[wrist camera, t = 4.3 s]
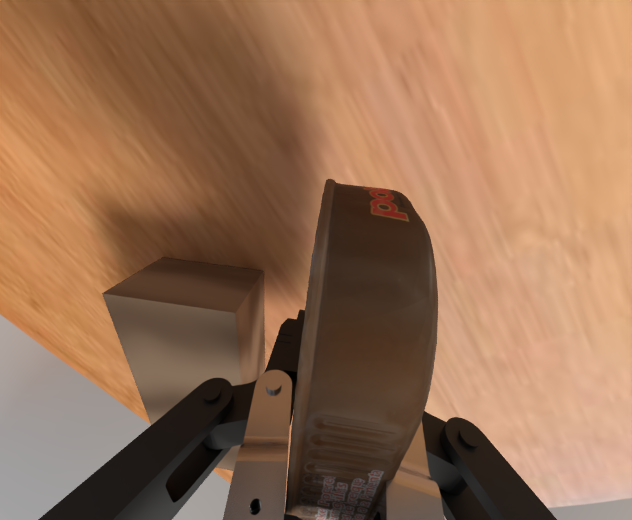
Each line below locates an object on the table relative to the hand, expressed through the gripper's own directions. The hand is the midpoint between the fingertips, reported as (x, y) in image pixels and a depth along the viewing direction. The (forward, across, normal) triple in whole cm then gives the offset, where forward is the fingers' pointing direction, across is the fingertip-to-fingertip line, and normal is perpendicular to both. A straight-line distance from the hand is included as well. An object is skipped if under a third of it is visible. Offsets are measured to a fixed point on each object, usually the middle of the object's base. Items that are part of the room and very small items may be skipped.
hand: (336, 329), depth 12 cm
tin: (+2, 0, 0) cm, 2 cm away
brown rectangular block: (+5, +10, +10) cm, 15 cm away
